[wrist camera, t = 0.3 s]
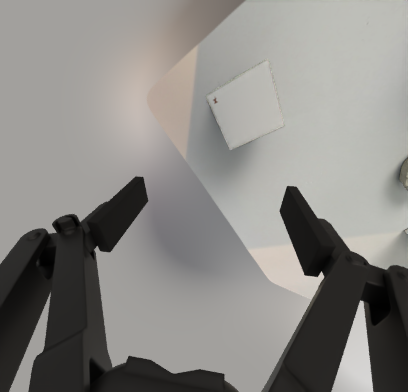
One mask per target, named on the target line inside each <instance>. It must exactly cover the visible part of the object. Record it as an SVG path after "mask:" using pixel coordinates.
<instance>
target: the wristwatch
mask: <svg viewBox="0 0 408 392" xmlns="http://www.w3.org/2000/svg"><path fill="white" fill-rule="evenodd" d="M399 180H400V181H401V182H402V183H403V186H404V187H405V188H406V189H407V190H408V158H407V159H406V160H405V161H404V163H403V165H402V167H401V173H400V177H399Z"/></svg>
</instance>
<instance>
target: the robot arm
mask: <svg viewBox="0 0 408 392" xmlns="http://www.w3.org/2000/svg"><path fill="white" fill-rule="evenodd" d="M147 202H148V198H147V193H146V188H145V183H144V178H143V177H135V178H134V179H132V180H131V181H130V182H129V183H128V184H127V185H126V186H125V187H124V188H123V189H122V190H120V191H119V192H118V193H117V194H116V195H115V196H114V197H113V198H112V199H111V200H110V201H108V202H105V203H103V204H101V205H99V206H98V207H97V208H96V209H95V210H94V211H93V212H92V213H90V214H89V215H88V216H87V217H86V218H85V219H84V220H82V221H81V222H80V221H79V219H78V217H77V216H76V215H74V214H69V215H65V216H62V217H60V218H58V219H56V220H55V221H54V222H53V223H52V225H53V227H54V229H55V230H56V232H57V233H52V234H49V233H48V232H47V230H46V229H43V228H42V229H35V230H32V231H30V232H28V233H26V234H25V235H23V236H22V237H21V238H20V240H19V241H18V242H17V243H16V245H15V246H14V247H13V249H12V250H11V251H10V252H9V254H8V255H7V257H6V258H5V259H4V260H3V261H2V263H1V264H0V392H9V390H10V388H11V385H12V383H13V380H14V378H15V376H16V373H17V371H18V369H19V366H20V364H21V361H22V359H23V357H24V354H25V352H26V349H27V347H28V344H29V342H30V340H31V337H32V335H33V332H34V330H35V328H36V325H37V323H38V320H39V318H40V316H41V313H42V311H43V309H44V306H45V304H46V302H47V299H48V297H49V294H50V292H51V297H50V306H49V314H48V322H47V330H46V338H45V346H44V350H43V352H42V353H41V354H39V355H37V357H36V359H35V360H34V363H33V367H32V373H31V379H30V385H29V392H238V390H237V389H235V388H234V387H233V386H232V385H231V384H230V383H228V382H226V381H225V380H224V374H222V373H217V372H211V371H206V370H201V369H199V370H194V371H188V372H182V373H177V374H173V373H171V372H169V371H167V370H166V369H164V368H163V367H161V366H160V365H158V364H156V363H155V362H153V361H151V360H147V359H143V358H137V357H132V356H129V357H128V359H127V362H126V363H123V364H120V365H118V366H115V367H113V368H112V363H111V360H110V357H109V354H108V350H107V342H106V334H105V326H104V318H103V310H102V301H101V293H100V285H99V277H98V269H97V261H96V253H95V251H94V249H95V248H96V246H98V247H99V250H100V251H103V252H111V251H112V249H113V248H114V246H115V245H116V244H117V243H118V241H119V240H120V238H121V237H122V236H123V234H124V233H125V232H126V230H127V229H128V228H129V226H130V225H131V224H132V222H133V221H134V220H135V218H136V217H137V215H138V214H139V213H140V211H141V210H142V209H143V207H144V206H145V205H146V203H147ZM280 214H281V216H282V219H283V221H284V224H285V226H286V229H287V232H288V234H289V237H290V239H291V242H292V244H293V247H294V249H295V252H296V254H297V257H298V259H299V262H300V264H301V267H302V269H303V272H304V275H306V276H314V277H318V276H319V274H320V273H321V271H322V273H323V275H324V279H323V280H322V282H321V284H320V285H319V288H318V290H317V291H316V293H315V295H314V297H313V299H312V301H311V302H310V304H309V306H308V308H307V310H306V312H305V314H304V315H303V317H302V319H301V321H300V323H299V325H298V326H297V328H296V330H295V332H294V334H293V336H292V338H291V339H290V341H289V343H288V345H287V347H286V348H285V350H284V352H283V354H282V356H281V358H280V359H279V361H278V363H277V365H276V367H275V369H274V371H273V372H272V374H271V376H270V378H269V380H268V381H267V383H266V385H265V386H264V388H263V390H262V392H331V390H332V387H333V384H334V381H335V378H336V375H337V372H338V368H339V365H340V362H341V358H342V356H343V352H344V349H345V346H346V343H347V339H348V336H349V333H350V330H351V327H352V324H353V321H354V318H355V315H356V311H357V308H358V305H359V302H360V300H361V301H364V309H365V318H366V327H367V337H368V346H369V355H370V364H371V372H372V373H371V374H372V382H373V391H374V392H408V269H407V268H405V267H401V266H398V265H392V266H390V267H389V268H388V269H387V270H385V269H382V268H379V267H376V266H372V265H370V264H369V263H368V261H367V260H366V259H365V258H363V257H362V256H360V255H359V254H357V253H355V252H352V251H350V250H349V248H348V247H347V246H346V244H345V243H344V242H343V240H342V239H341V237H340V236H339V235H338V233H337V232H336V231H335V229H334V228H333V227H332V225H331V224H330V223H329V222H327V221H326V220H325V219H318V218H317V217H316V215H315V214H314V212H313V211H312V209H311V208H310V206H309V205H308V203H307V202H306V200H305V199H304V197H303V196H302V194H301V193H300V191H299V190H298V188H297V187H294V186H287V188H286V191H285V195H284V198H283V201H282V205H281V208H280Z"/></svg>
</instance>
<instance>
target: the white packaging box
mask: <svg viewBox="0 0 408 392" xmlns="http://www.w3.org/2000/svg"><path fill="white" fill-rule="evenodd" d="M206 99H207V101H208V103H209V106H210V108H211V110H212V112H213V114H214V117H215V119H216V121H217V123H218V125H219V128H220V130H221V132H222V134H223V136H224V138H225V140H226V143H227V145H228V147H229V149H230V150H232V149H235V148H237V147H239V146H242V145H244V144H246V143H248V142H250V141H253V140H255V139H257V138H259V137H262V136H264V135H266V134H268V133H270V132H273V131H275V130H277V129H279V128H281V127H284V126H285V124H284V120H283V116H282V112H281V108H280V104H279V100H278V95H277V91H276V87H275V82H274V78H273V74H272V70H271V66H270V61H269V59H266V60H264V61H262V62H261V63H259V64H257V65H255V66H254V67H252V68H250V69H248V70H247V71H245V72H243V73H242V74H240V75H238V76H237V77H235V78H233V79H232V80H230V81H228V82H227V83H225V84H224V85H222V86H220V87H219V88H217V89H215V90H214V91H212V92H210V93H209V94H207V95H206Z"/></svg>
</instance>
